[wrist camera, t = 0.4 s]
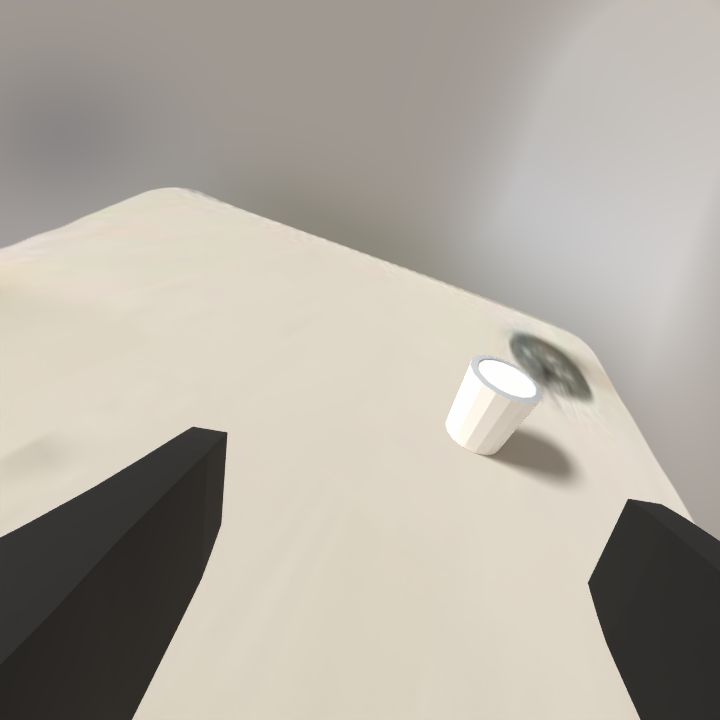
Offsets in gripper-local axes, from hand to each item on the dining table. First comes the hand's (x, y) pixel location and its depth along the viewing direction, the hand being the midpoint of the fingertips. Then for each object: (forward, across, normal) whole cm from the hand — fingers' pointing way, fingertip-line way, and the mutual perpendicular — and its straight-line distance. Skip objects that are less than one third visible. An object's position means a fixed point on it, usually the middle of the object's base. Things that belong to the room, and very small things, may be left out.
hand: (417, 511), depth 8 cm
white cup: (+33, -11, +17) cm, 38 cm away
